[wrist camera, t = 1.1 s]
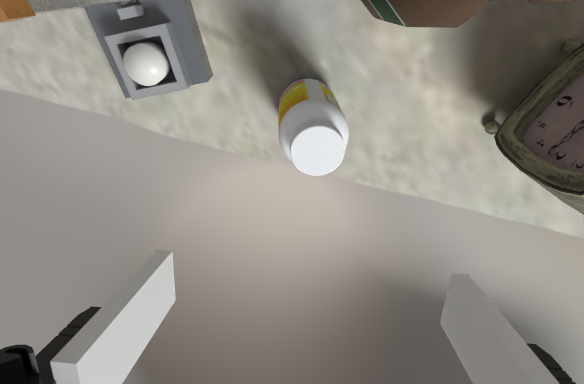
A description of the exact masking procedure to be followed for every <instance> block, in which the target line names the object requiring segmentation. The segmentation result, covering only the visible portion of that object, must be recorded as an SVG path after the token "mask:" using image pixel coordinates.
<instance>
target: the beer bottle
mask: <svg viewBox="0 0 584 384" xmlns="http://www.w3.org/2000/svg"><path fill="white" fill-rule="evenodd" d="M361 1H362V2H363V3H364V5H365V6H366V7H367V9H368V10H369V11H370V13H371V14H372V16H373V17H375V18H377V19H380V20H384V21H387V22H391V23H394V24H398V25H402V26H405V27H458V26H459V25H461V24H462V23H464V22H465V21H467V20H468V19H469V18H470V17H471V16H473V15H474V14H475V13H476V12H477V11H478V10H479V9H481V8H482V7H483V6H484V5H485V4H486V3H487V2H489V1H491V0H361ZM528 1H529V3H556V4H566V3H568V2H571V1H574V0H528Z"/></svg>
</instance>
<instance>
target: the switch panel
mask: <svg viewBox="0 0 584 384" xmlns="http://www.w3.org/2000/svg"><path fill="white" fill-rule="evenodd" d="M84 8H85V10H86V12H87V14H88V17H89V19H90V21H91V23H92V25H93V28H94V30H95V32H96V34H97V36H98V39H99V41H100V43H101V45H102V47H103V49H104V52H105V54H106V56H107V58H108V60H109V63H110V65H111V67H112V69H113V71H114V74H115V76H116V78H117V80H118V82H119V85H120V87H121V89H122V91H123V93H124V96H125V98H130V97H131V98H132V100H134V99H139V98H144V97H149V96H154V95H159V94H164V93H169V92H174V91H179V90H184V89H188V88H189V87H190V86H191V85H194V84H199V83H204V82H208V81H209V80H210V78H211V77H212V76H213V74H212V70H211V67H210V64H209V61H208V57H207V54H206V51H205V47H204V44H203V41H202V37H201V34H200V31H199V27H198V24H197V21H196V18H195V14H194V11H193V8H192V4H191V1H190V0H136V2H135V3H131V4H126V5H120V3H113V4H106V5H98V6H91V7H84ZM142 42H152V43H155V44H157V45H159V46H160V47H162V48H163V49H164V51H165V52H166V53H167V56H168V58H169V61H170V71H169V73H168V75H167V76H166V77H165V78H164V79H163V80H161V81H160V82H158V83H157V84H155V85H152V86H144V85H141V84H139V83H137V82H135V81H134V80H133V79H131V77H130V76H129V75H128V74H127V72H126V70H125V67H124V62H123V59H124V54H125V52H126V51H127V49H128V48H130V47H131V46H133V45H136V44H139V43H142Z"/></svg>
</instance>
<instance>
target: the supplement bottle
mask: <svg viewBox="0 0 584 384" xmlns="http://www.w3.org/2000/svg"><path fill="white" fill-rule="evenodd" d="M348 139H349V127H348V123H347V120H346V118H345V116H344V114H343V112H342V110H341V108H340V106H339V104H338V103H337V101H336V99H335V97H334V95H333V93H332V92H331V90H330V89H329V88H328V87H327V86H326V85H325V84H324V83H322V82H320V81H318V80H315V79H301V80H298V81H296V82H294V83H292V84H291V85H289V86H288V87H287V88H286V89H285V91H284V92H283V94H282V96H281V98H280V102H279V142H280V146H281V148H282V150H283V152H284V154H285V155H286V156H287V157H288V158H289V159H290V160H291V161H292V162H293V164H294V165H295V166H296V167H297V168H298V169H299V170H300V171H301V172H303V173H305V174H308V175H314V176H319V175H324V174H327V173H330V172H331V171H333V170H334V169H336V168H337V167H338V166H339V164H340V163H341V161H342V159H343V157H344V153H345V148H346V146H347V143H348Z"/></svg>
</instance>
